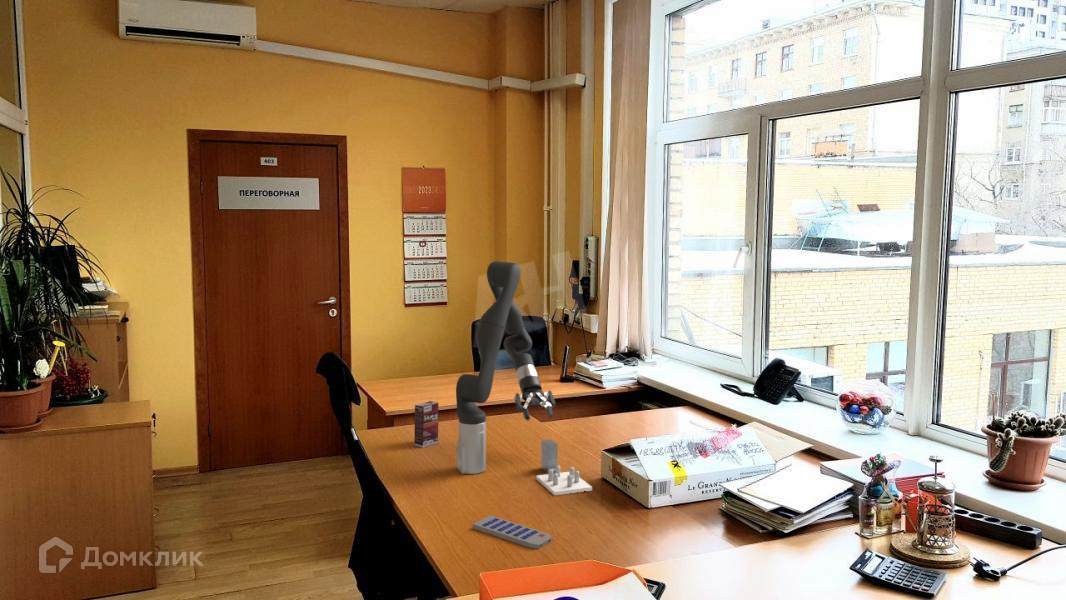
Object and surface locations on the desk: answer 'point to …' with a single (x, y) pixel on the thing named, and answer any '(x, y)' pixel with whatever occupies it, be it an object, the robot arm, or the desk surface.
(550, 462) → the drive
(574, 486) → the tray
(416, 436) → the supplement box
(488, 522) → the remote control
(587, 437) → the desk surface
